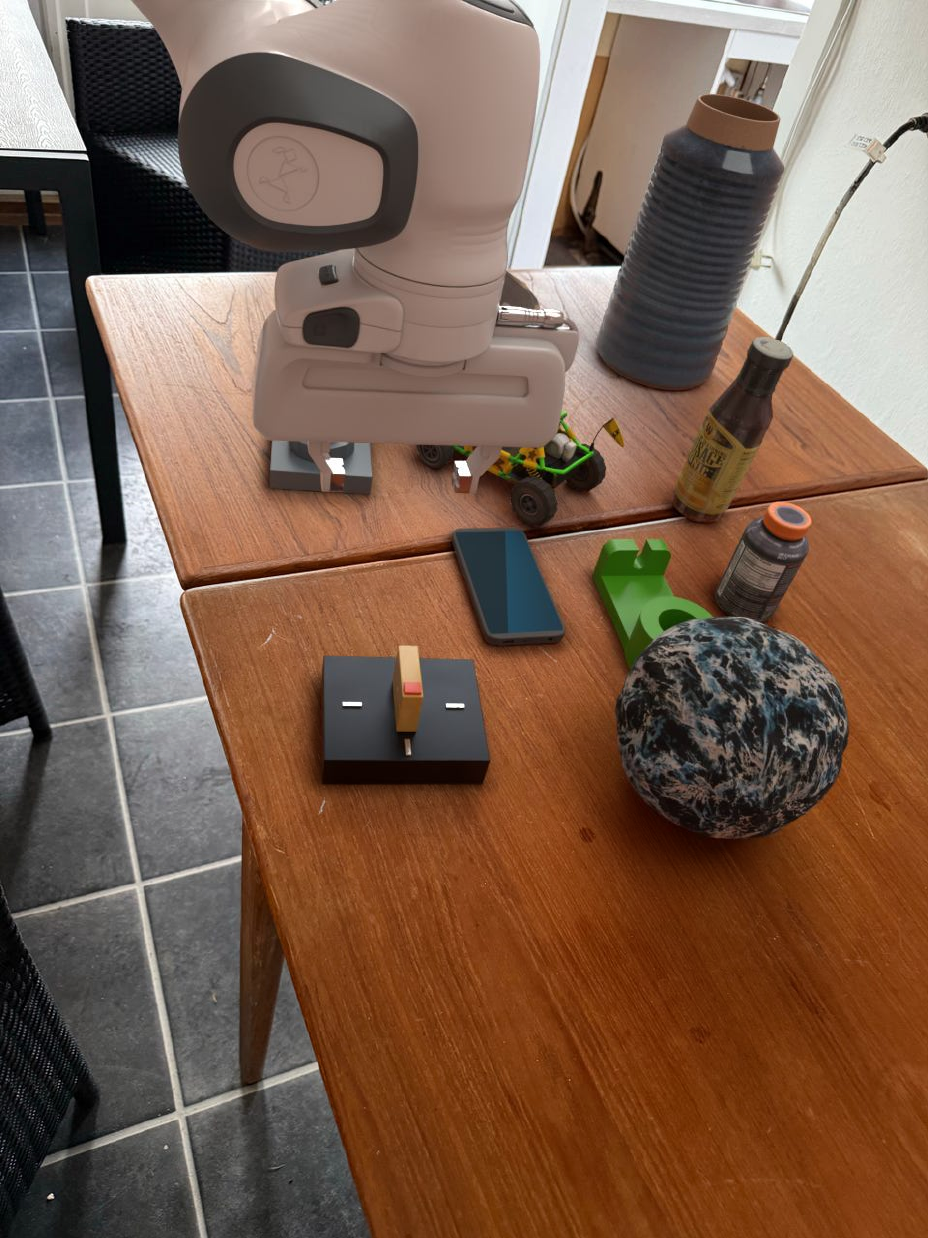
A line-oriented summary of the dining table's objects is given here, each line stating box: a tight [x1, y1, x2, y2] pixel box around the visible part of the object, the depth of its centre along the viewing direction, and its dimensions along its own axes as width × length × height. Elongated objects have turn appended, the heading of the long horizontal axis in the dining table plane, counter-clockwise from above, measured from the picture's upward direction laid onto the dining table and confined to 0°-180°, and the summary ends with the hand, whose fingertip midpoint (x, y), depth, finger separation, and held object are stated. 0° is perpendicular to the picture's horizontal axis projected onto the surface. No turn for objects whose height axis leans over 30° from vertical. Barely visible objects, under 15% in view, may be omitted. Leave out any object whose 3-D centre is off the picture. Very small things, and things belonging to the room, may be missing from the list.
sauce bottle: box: [671, 336, 794, 524], centre depth 90 cm, size 6×6×20 cm
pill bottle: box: [714, 501, 812, 624], centre depth 82 cm, size 6×6×11 cm
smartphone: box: [451, 527, 566, 647], centre depth 82 cm, size 8×15×1 cm, turn 13°
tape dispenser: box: [591, 538, 714, 670], centre depth 80 cm, size 15×7×5 cm, turn 11°
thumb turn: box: [392, 644, 423, 732], centre depth 65 cm, size 5×2×4 cm, turn 7°
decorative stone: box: [614, 615, 850, 840], centre depth 64 cm, size 16×16×15 cm
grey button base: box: [269, 441, 373, 495], centre depth 90 cm, size 10×10×4 cm
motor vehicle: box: [415, 409, 625, 528], centre depth 91 cm, size 12×19×11 cm, turn 51°
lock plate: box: [320, 655, 491, 785], centre depth 67 cm, size 12×10×3 cm
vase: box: [595, 93, 786, 391], centre depth 110 cm, size 16×16×32 cm
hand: (398, 487), depth 62 cm, fingers open, 8 cm apart
